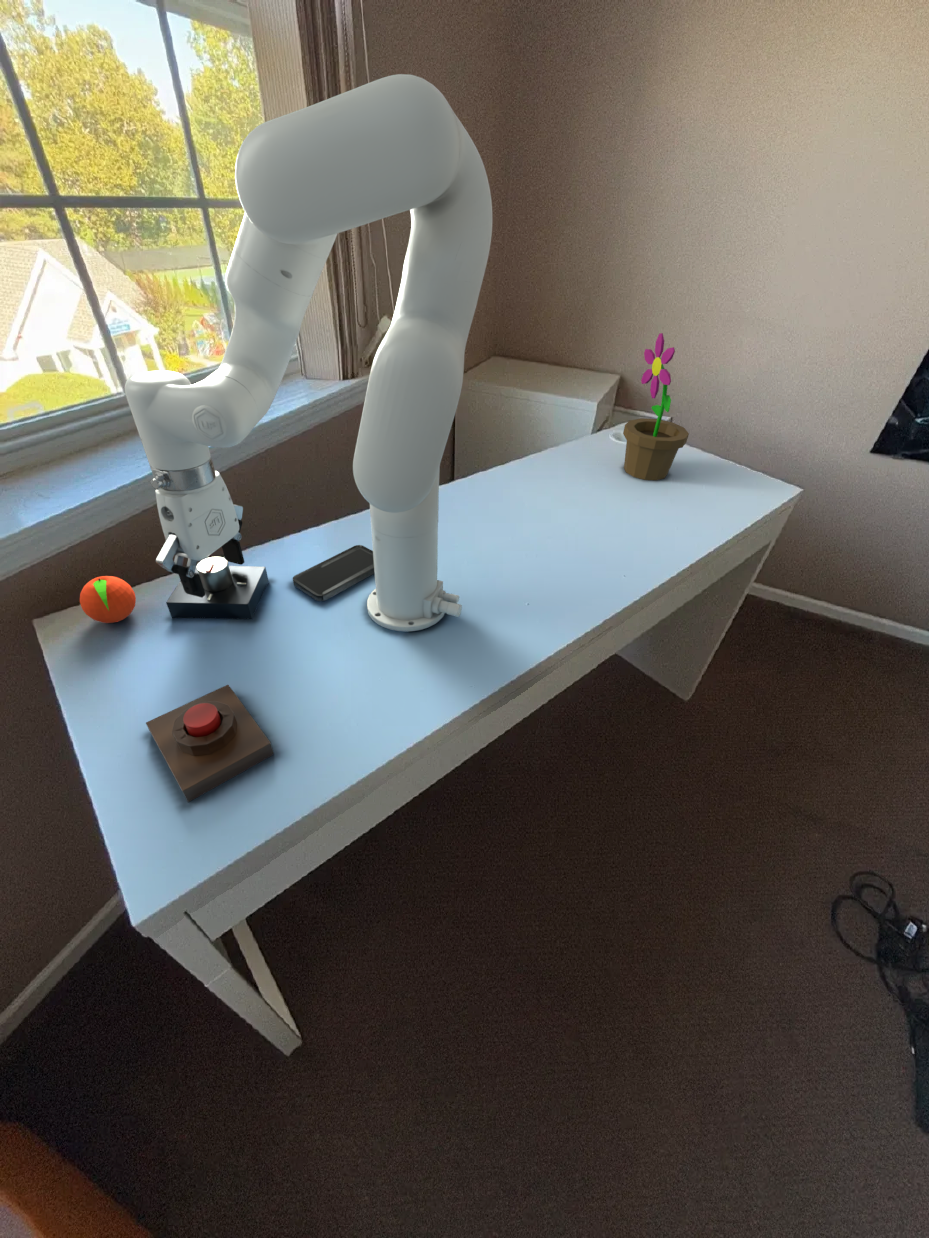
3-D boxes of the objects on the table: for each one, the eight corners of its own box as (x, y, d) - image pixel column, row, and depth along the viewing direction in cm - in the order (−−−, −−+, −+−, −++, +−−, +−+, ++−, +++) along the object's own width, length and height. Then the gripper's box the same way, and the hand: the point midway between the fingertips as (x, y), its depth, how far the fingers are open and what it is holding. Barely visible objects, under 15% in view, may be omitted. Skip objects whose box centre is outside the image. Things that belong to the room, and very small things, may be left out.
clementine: (147, 627, 81) (130, 588, 76) (93, 642, 78) (73, 603, 73) (138, 598, 86) (122, 561, 81) (88, 612, 83) (69, 573, 78)
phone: (388, 560, 95) (319, 597, 86) (389, 565, 96) (320, 603, 87) (358, 543, 99) (289, 577, 90) (359, 548, 100) (290, 583, 90)
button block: (274, 754, 64) (267, 732, 62) (188, 802, 59) (177, 781, 57) (232, 695, 71) (224, 674, 69) (151, 734, 66) (140, 712, 63)
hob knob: (207, 575, 86) (201, 554, 84) (236, 575, 87) (230, 555, 84) (198, 591, 83) (191, 571, 81) (228, 591, 83) (222, 571, 81)
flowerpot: (605, 460, 136) (634, 326, 116) (657, 457, 139) (693, 326, 119) (632, 486, 125) (669, 343, 106) (687, 482, 128) (733, 342, 109)
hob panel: (268, 581, 91) (265, 565, 89) (252, 619, 83) (247, 603, 81) (195, 579, 90) (190, 563, 88) (171, 618, 83) (165, 601, 81)
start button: (226, 726, 63) (222, 716, 62) (194, 742, 61) (190, 732, 60) (213, 708, 65) (209, 698, 64) (182, 723, 63) (178, 713, 62)
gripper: (159, 505, 66) (198, 616, 77) (248, 453, 79) (270, 554, 90) (110, 494, 68) (154, 604, 79) (204, 444, 80) (231, 545, 91)
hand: (216, 577), depth 84 cm, fingers open, 8 cm apart
